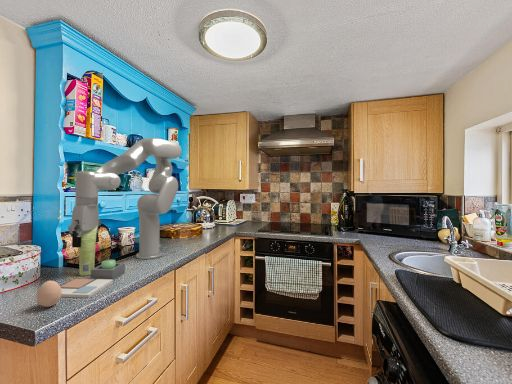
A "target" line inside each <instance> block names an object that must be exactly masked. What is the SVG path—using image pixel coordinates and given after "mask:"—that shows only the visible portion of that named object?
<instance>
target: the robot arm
mask: <svg viewBox="0 0 512 384" xmlns="http://www.w3.org/2000/svg"><path fill="white" fill-rule="evenodd" d="M182 150H183V149H182V147H181V145H180V144H179V143H177V142H175V141H170V140H167V139H163V138H160V137H159V138H158V137H150V138H149V137H147V138H142V139H140V140H137V141H136V142H135V143H134V144H133V145H131V147H129V148H128V149H127V150H125V152H123V153H122V154H120V155H118V156H116V157H114V158H113V159H111V160H108V161H107V162H105V163H103V164H102V165H101V166H98V168H96V169H95V170H93V171H88V170H79V171H77V172H76V174H75V199H74V200H75V203H74V205H73V207H72V211H71V212H72V214H71V222H70V224H69V226H67V229H68V231H69V234H70V237H71V238H72V239H71V241H72V242H71V247H72V248H79V247H81V237H80V235H81V234H82V232H83V231H87V230H92V229H95V228H96V227H97V233H96V243H99V233H100V229H101V225H102V220H101V219H100V214H99V206H98V205H99V190H102V191H103V190H105V191H111V190H112V191H113V190H116V189H117V188H119V187H120V185H121V183H122V182H121V181H122V180H121V177H120V176H119V175H121V174H123V173H127V172H130V171H133V170H135V169H137V168H138V167H139V166H140V165H141V164H143V163H144V162H145V161H146V160H147V159H148V158H149V157H151V156H153V158H154V159H155V162H156V163H155V164H156V166H155V169H154V172H153V173H152V176H151V178H150V180H149V182H148V187H147V188H148V190H149V192H151V193H145V194H143V195H141V196H140V197H139V198H138V199H137V206H136V207H137V210H138V217H139V218H138V220H139V225H138V226H139V227H138V229H139V230H138V233H139V234H138V236H139V239H138V240H139V241H138V243H139V244H138V245H139V246H138V247H139V248H138V249H139V250H138V251H139V252H137V253H136V254H135V258H137V259H139V260H151V259H152V260H153V259H157V258H160V257H162V256H163V251H162V250H160V248H161V247H162V244H161V243H160V237H161V236H160V235H161V234H160V229H161V228H160V227H161V226H160V225H161V224H160V217H159V215H163V214H166V213H168V212H169V211H170V209H171V207H172V206H173V203H174V201H175V198H176V196H177V193H178V191H179V182H178V180H177V178H176V177H174V176H173V175H172V173H173V166H172V163H171V160H173V159H178V158H179V157H181V155H182V152H183V151H182ZM77 232H78V233H77Z"/></svg>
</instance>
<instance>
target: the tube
mask: <svg viewBox="0 0 512 384" xmlns="http://www.w3.org/2000/svg"><path fill="white" fill-rule="evenodd" d="M77 233H78V232H77ZM96 233H97V227H96V228H95V229H92V230H87V231H83V232H82V234H81V235H80V237H81V247H78V263H79V264H78V265H79V268H78V269H79V273H78V274H79V276H82V277H85V276H91V269H93V268H95V260H96V259H95V258H96V257H95V256H96V244H97V242H96Z"/></svg>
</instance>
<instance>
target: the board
mask: <svg viewBox="0 0 512 384" xmlns="http://www.w3.org/2000/svg"><path fill="white" fill-rule="evenodd" d="M113 282H114V280H112V279H91V278H85V277H82V278H81V277H75V278H73V279H71V280H69V281H67V282H65V283H63V284H60V285H59V286H60V287H61V291H62V293H61V297H60V298H76V299H77V298H78V299H79V298H80V299H83V298H84V299H88V298H89V299H90V298H91V297H92V296H95V293H96V294H97V293H98V292H100V291H102V290H104V289H105V288H107V287H108V286H109V285H111V284H113Z"/></svg>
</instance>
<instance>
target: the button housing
mask: <svg viewBox="0 0 512 384" xmlns="http://www.w3.org/2000/svg"><path fill="white" fill-rule="evenodd" d="M125 273H126V263H125V262H122V263H121V262H116V267H114V268H113V269H102V264H100V265H97V266H96V267H94V268H93V269H91V275H90V279H112V280H113V281H115V280H117V279H118V278H119V277H121V276H122V275H124V274H125Z"/></svg>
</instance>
